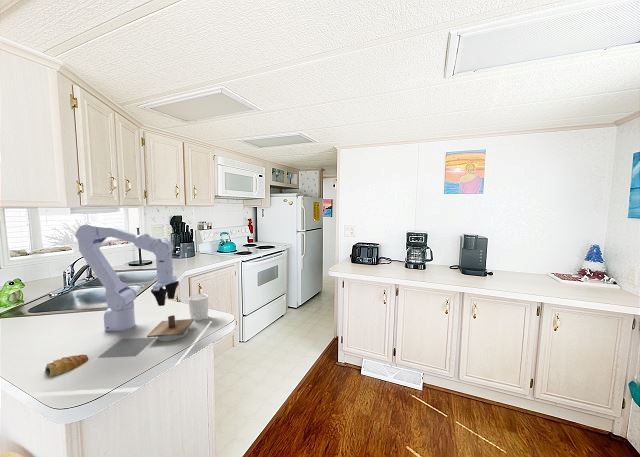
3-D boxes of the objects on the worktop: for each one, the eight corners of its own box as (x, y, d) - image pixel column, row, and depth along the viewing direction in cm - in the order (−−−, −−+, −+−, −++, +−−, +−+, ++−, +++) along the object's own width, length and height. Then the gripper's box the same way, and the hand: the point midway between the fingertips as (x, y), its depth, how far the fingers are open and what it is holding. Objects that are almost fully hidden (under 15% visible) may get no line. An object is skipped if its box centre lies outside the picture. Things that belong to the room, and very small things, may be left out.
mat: (97, 360, 83) (96, 357, 83) (122, 340, 95) (122, 338, 95) (135, 358, 84) (135, 356, 84) (156, 339, 96) (156, 337, 95)
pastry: (83, 357, 84) (82, 346, 84) (92, 364, 81) (91, 352, 81) (43, 374, 76) (42, 362, 76) (51, 382, 73) (50, 369, 73)
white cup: (201, 323, 108) (200, 300, 108) (185, 322, 110) (184, 299, 109) (212, 316, 116) (212, 294, 115) (197, 314, 118) (196, 293, 117)
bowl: (151, 343, 93) (151, 335, 92) (166, 330, 102) (166, 322, 102) (180, 342, 93) (180, 334, 93) (192, 329, 103) (191, 321, 103)
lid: (146, 337, 91) (146, 325, 90) (162, 322, 103) (161, 311, 102) (183, 334, 93) (182, 322, 92) (193, 320, 104) (193, 309, 104)
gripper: (165, 274, 98) (167, 308, 100) (182, 265, 113) (184, 295, 114) (146, 274, 98) (148, 309, 99) (166, 266, 112) (167, 296, 113)
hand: (166, 302), depth 106 cm, fingers open, 7 cm apart
